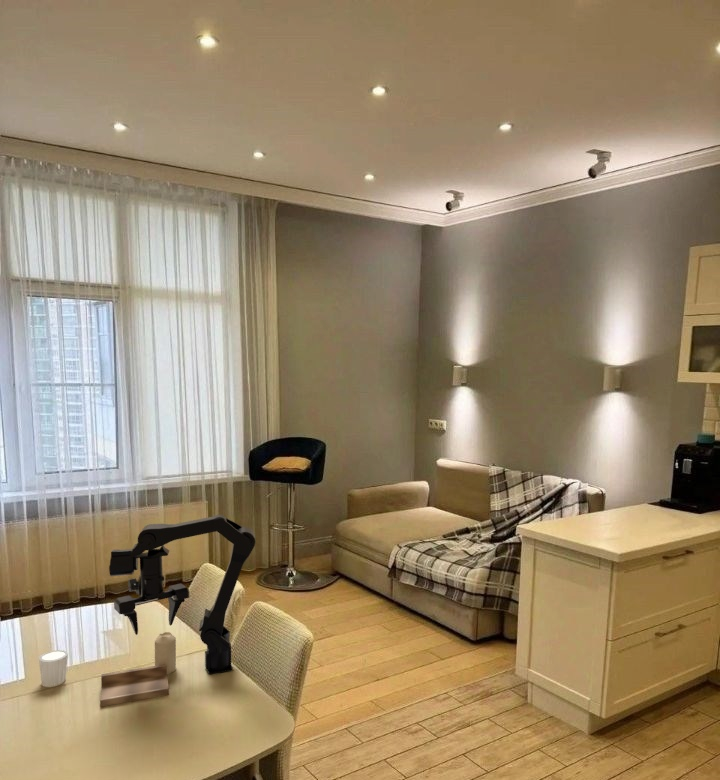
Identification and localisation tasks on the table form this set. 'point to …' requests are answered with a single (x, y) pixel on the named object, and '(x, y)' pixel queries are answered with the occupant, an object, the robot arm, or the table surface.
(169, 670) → the candle
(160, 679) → the board
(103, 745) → the table surface
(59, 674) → the white cylinder
